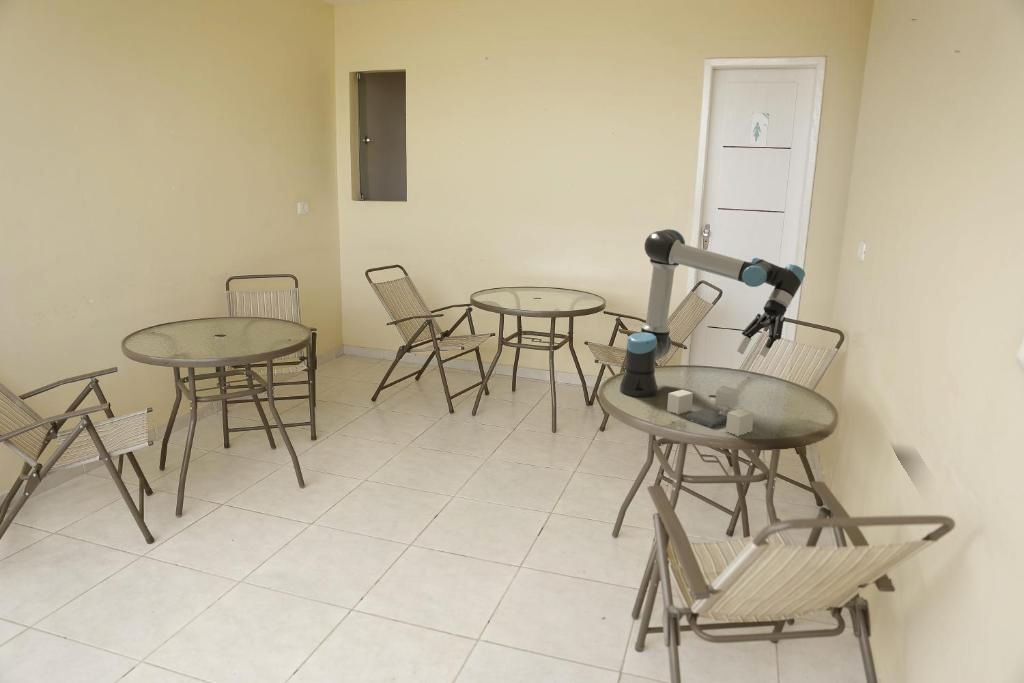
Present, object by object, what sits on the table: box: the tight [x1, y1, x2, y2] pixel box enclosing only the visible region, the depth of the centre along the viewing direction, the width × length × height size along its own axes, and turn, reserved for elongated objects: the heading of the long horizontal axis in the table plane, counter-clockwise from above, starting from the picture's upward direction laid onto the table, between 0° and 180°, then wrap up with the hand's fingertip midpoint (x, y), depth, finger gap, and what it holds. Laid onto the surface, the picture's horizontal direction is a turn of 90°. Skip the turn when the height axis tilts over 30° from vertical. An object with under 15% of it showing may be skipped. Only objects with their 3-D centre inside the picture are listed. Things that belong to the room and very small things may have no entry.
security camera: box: [714, 385, 740, 416], centre depth 254 cm, size 6×7×10 cm
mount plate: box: [686, 408, 727, 429], centre depth 248 cm, size 11×10×2 cm
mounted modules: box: [666, 389, 755, 436], centre depth 247 cm, size 31×8×7 cm, turn 37°
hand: (750, 353), depth 251 cm, fingers open, 13 cm apart
